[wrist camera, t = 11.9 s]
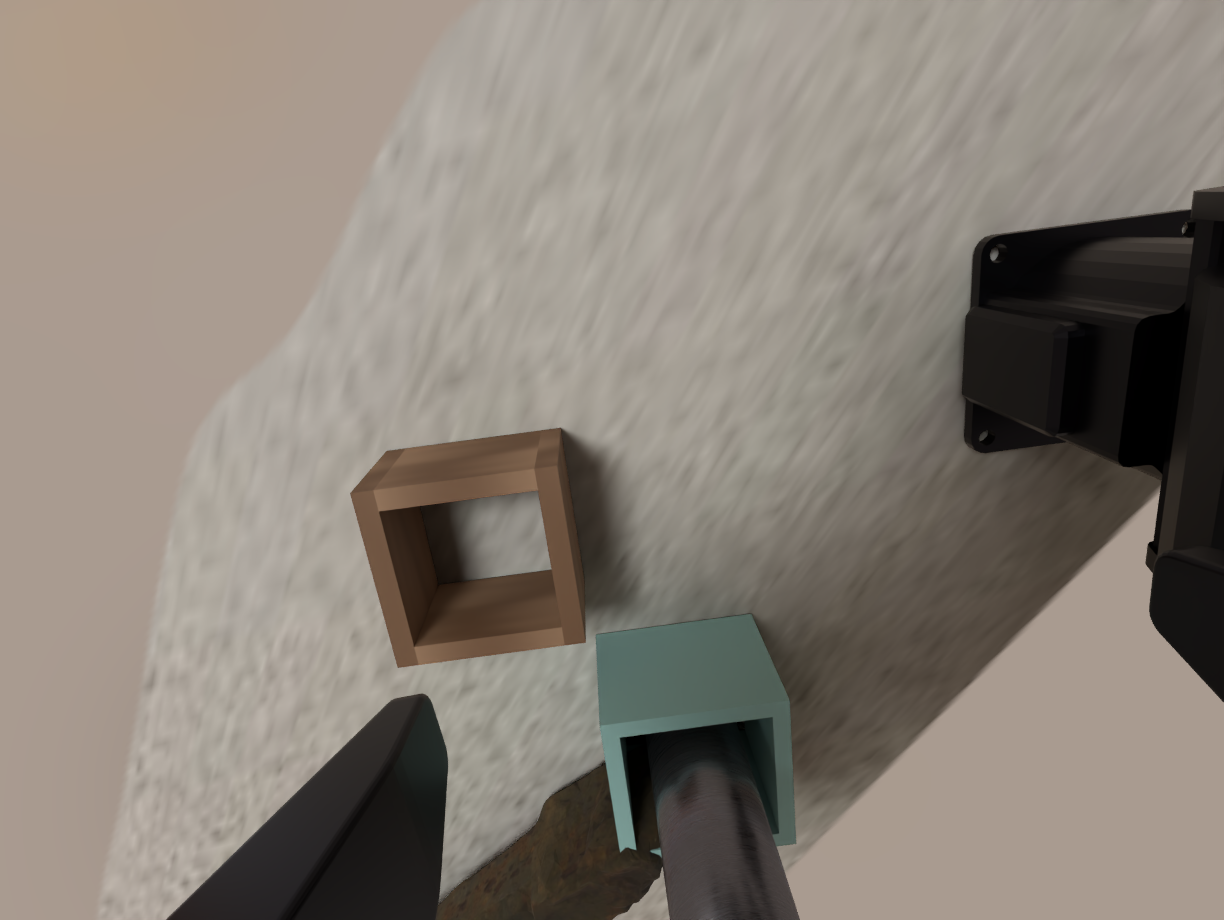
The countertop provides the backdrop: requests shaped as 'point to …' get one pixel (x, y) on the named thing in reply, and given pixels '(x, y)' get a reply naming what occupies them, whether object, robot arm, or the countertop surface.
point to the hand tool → (570, 858)
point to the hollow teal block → (696, 705)
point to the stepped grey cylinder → (714, 829)
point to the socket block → (479, 609)
